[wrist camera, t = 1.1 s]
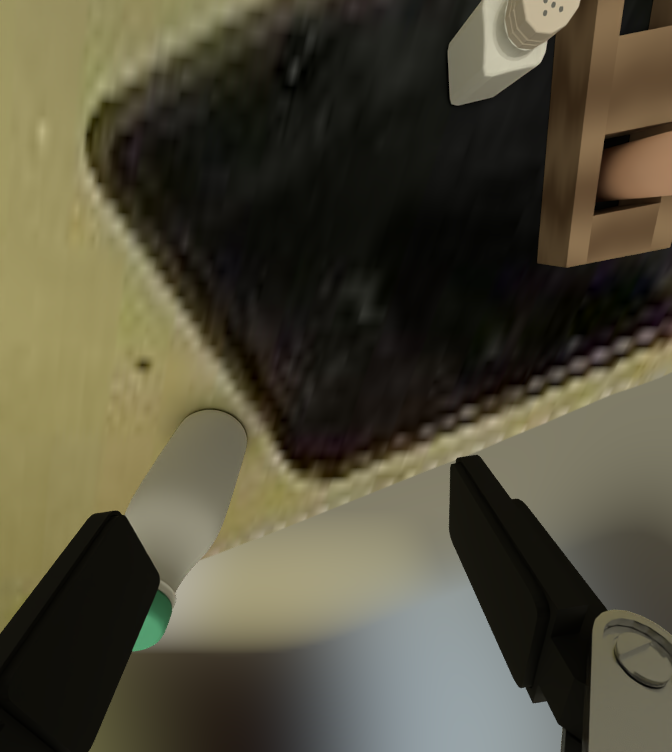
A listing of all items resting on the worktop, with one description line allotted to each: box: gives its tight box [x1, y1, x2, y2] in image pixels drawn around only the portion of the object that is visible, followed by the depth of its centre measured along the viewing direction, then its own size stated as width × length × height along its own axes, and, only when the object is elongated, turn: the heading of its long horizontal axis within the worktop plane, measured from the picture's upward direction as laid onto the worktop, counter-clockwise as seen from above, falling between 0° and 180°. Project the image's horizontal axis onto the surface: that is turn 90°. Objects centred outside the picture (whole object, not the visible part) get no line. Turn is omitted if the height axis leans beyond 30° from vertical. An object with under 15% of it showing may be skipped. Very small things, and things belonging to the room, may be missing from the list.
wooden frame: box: [537, 0, 672, 268], centre depth 25 cm, size 24×9×4 cm, turn 10°
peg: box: [595, 131, 672, 202], centre depth 25 cm, size 4×4×9 cm
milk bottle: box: [125, 410, 247, 651], centre depth 28 cm, size 8×8×20 cm
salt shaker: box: [448, 0, 580, 106], centre depth 21 cm, size 4×4×10 cm
